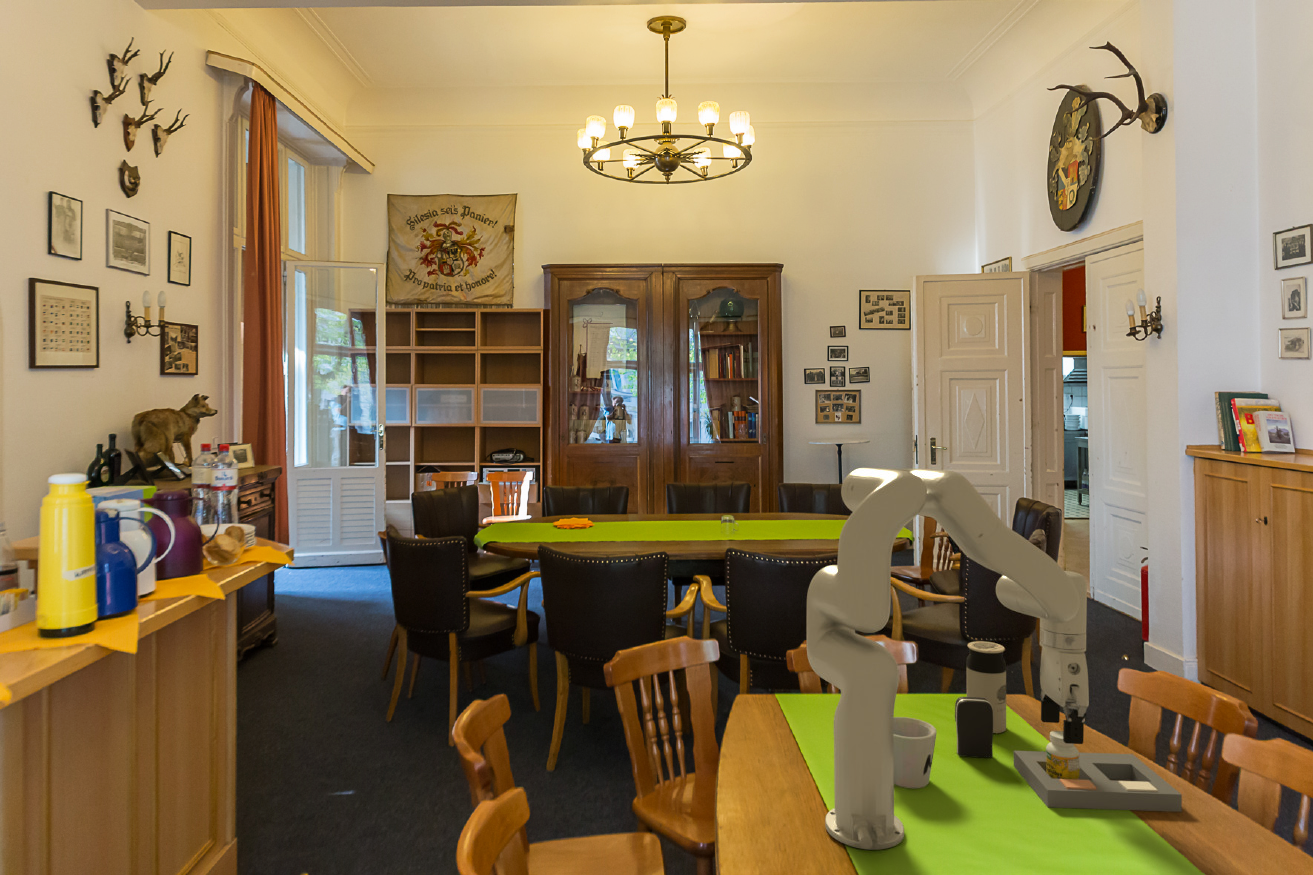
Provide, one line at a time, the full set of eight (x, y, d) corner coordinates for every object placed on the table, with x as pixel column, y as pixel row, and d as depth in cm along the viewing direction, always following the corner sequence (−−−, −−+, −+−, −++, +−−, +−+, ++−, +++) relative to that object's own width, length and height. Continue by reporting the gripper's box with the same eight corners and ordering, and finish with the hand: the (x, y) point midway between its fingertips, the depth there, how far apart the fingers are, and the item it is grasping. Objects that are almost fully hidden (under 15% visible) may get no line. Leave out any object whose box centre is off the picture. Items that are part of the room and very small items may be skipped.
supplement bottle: (1086, 791, 138) (1086, 738, 138) (1062, 795, 136) (1062, 742, 136) (1062, 778, 143) (1062, 727, 143) (1039, 782, 142) (1039, 731, 141)
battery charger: (989, 751, 155) (989, 695, 155) (994, 759, 151) (994, 702, 151) (953, 748, 156) (953, 693, 156) (957, 756, 153) (957, 700, 153)
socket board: (1181, 811, 130) (1181, 792, 130) (1047, 807, 132) (1047, 788, 132) (1132, 769, 146) (1132, 752, 146) (1013, 765, 148) (1013, 749, 148)
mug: (941, 795, 137) (941, 740, 137) (856, 788, 140) (855, 734, 140) (932, 769, 147) (932, 718, 147) (853, 763, 150) (852, 713, 150)
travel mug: (958, 724, 169) (958, 643, 169) (984, 717, 172) (984, 639, 172) (988, 737, 162) (987, 653, 162) (1014, 730, 165) (1014, 648, 165)
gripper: (1107, 653, 130) (1105, 753, 131) (1063, 627, 148) (1062, 715, 148) (1061, 652, 131) (1060, 750, 131) (1023, 626, 148) (1022, 713, 148)
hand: (1061, 732), depth 139 cm, fingers open, 9 cm apart
